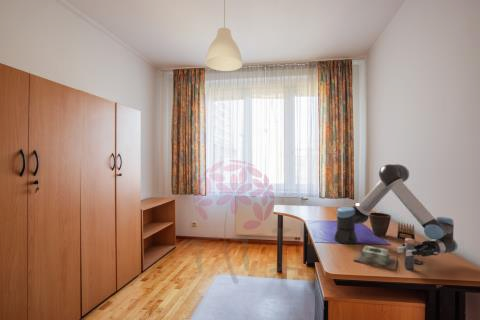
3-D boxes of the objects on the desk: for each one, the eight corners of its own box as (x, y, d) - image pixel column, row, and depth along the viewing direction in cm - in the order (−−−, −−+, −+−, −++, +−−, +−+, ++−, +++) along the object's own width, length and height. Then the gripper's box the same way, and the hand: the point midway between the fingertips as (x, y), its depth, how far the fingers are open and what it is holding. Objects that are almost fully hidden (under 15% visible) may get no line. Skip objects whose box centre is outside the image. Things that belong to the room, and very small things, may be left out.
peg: (404, 268, 128) (405, 239, 128) (404, 265, 131) (405, 237, 131) (414, 270, 125) (414, 241, 125) (414, 267, 129) (414, 239, 129)
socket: (353, 261, 138) (353, 250, 138) (358, 252, 151) (358, 243, 151) (395, 270, 126) (395, 259, 126) (397, 260, 139) (397, 250, 139)
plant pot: (391, 239, 179) (391, 217, 179) (368, 236, 186) (369, 215, 186) (389, 234, 193) (389, 213, 193) (368, 231, 199) (368, 211, 200)
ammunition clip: (415, 240, 176) (415, 224, 176) (414, 241, 175) (414, 224, 175) (398, 237, 184) (398, 221, 184) (397, 237, 183) (397, 221, 183)
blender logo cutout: (404, 258, 144) (404, 257, 144) (418, 259, 143) (418, 258, 143) (412, 264, 135) (412, 263, 135) (428, 266, 133) (428, 264, 133)
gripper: (450, 260, 126) (418, 265, 118) (417, 248, 142) (387, 253, 134) (450, 245, 126) (419, 250, 118) (417, 235, 142) (387, 239, 134)
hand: (402, 251), depth 126 cm, fingers closed on peg, 4 cm apart
